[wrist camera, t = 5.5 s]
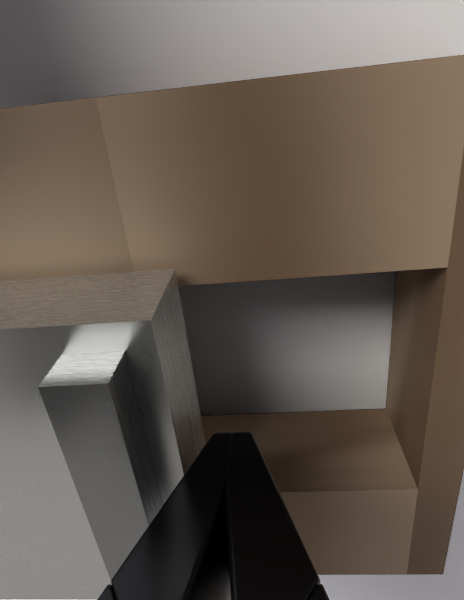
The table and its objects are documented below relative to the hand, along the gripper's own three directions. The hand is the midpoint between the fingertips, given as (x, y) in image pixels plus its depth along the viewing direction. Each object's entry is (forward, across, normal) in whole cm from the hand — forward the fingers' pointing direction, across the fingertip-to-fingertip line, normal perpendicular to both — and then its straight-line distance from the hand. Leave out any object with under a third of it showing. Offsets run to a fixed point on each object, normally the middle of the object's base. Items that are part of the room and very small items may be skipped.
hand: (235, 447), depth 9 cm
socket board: (+4, +3, 0) cm, 5 cm away
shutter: (+1, +4, 0) cm, 4 cm away
